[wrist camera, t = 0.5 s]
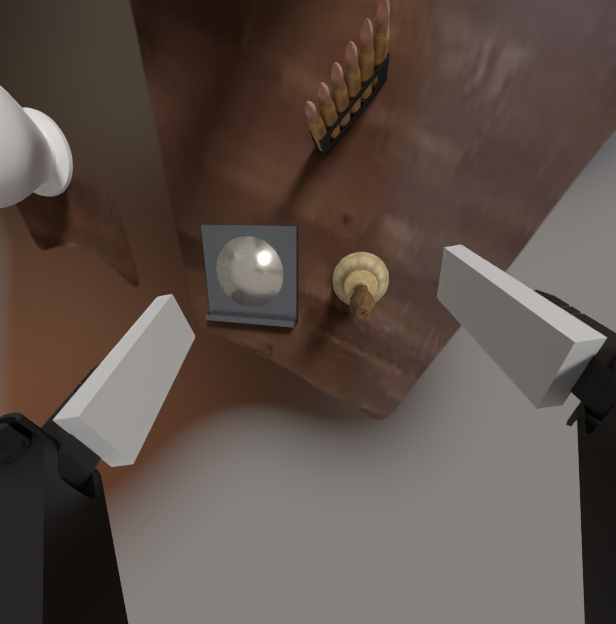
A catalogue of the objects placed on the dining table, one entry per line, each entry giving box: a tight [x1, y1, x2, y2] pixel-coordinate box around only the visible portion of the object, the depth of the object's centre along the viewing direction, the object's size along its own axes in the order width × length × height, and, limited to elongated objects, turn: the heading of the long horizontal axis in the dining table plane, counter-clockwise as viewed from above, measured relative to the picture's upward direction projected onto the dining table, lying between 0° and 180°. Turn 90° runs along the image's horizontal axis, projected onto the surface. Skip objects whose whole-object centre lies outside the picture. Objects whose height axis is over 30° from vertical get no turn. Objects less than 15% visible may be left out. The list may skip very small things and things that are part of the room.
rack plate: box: [201, 225, 298, 328], centre depth 40 cm, size 15×15×2 cm
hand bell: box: [332, 252, 389, 320], centre depth 31 cm, size 8×8×16 cm
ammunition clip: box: [305, 0, 390, 156], centre depth 27 cm, size 11×2×12 cm, turn 137°
